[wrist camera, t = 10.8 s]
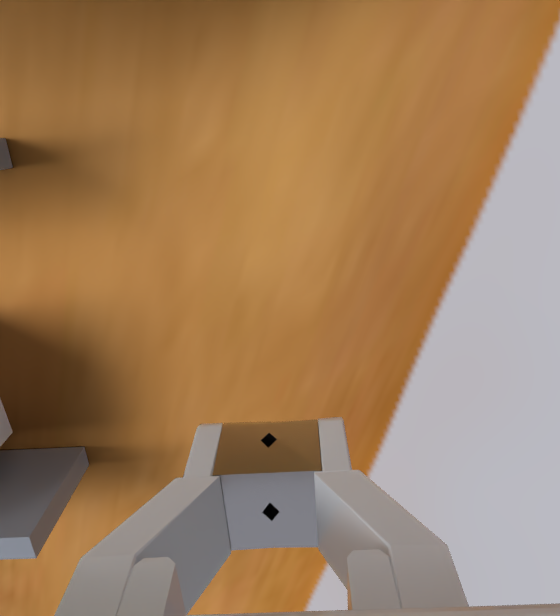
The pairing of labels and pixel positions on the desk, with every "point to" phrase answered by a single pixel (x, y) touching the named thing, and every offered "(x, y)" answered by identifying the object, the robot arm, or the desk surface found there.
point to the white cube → (4, 425)
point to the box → (34, 482)
